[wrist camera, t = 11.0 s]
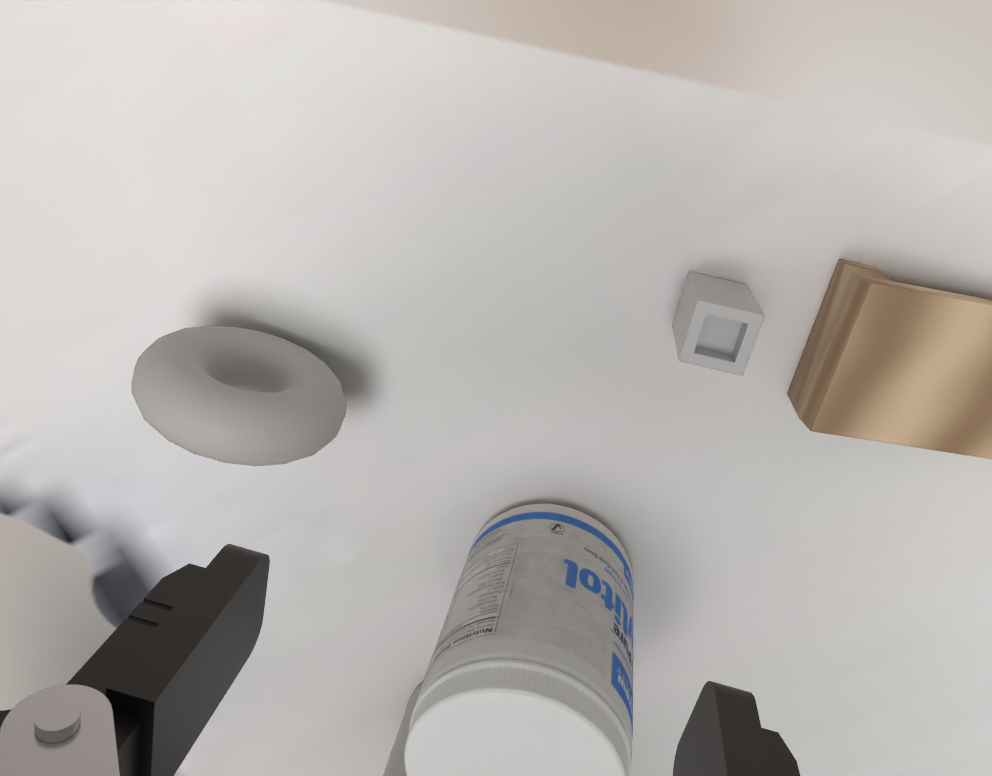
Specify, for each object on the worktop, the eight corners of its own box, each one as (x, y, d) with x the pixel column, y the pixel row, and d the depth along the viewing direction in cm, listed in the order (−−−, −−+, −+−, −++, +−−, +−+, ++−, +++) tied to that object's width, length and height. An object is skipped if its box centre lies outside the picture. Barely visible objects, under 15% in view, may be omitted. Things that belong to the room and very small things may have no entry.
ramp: (787, 393, 38) (804, 429, 35) (839, 258, 36) (864, 281, 32) (1072, 461, 37) (1122, 505, 34) (1148, 328, 35) (1212, 360, 31)
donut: (379, 361, 41) (309, 445, 32) (362, 415, 43) (291, 510, 34) (205, 294, 41) (86, 359, 32) (194, 350, 43) (78, 427, 34)
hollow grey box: (672, 325, 38) (679, 360, 33) (689, 271, 37) (698, 300, 32) (728, 338, 38) (742, 375, 33) (746, 284, 37) (764, 315, 32)
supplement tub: (668, 570, 43) (687, 795, 30) (556, 660, 47) (528, 896, 34) (539, 463, 42) (500, 648, 29) (434, 563, 46) (355, 769, 32)
